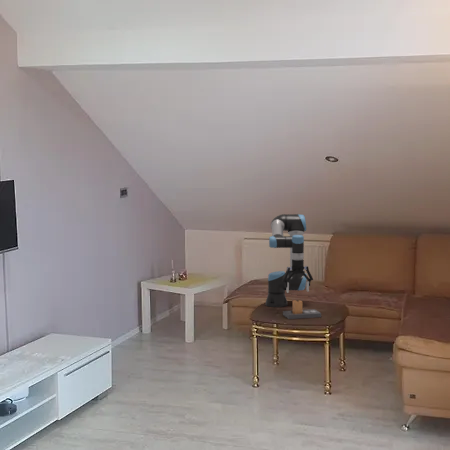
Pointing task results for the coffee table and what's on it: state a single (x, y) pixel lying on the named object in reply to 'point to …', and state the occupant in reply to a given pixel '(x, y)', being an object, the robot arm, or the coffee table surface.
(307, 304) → the coffee table surface
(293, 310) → the charger
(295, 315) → the power strip
